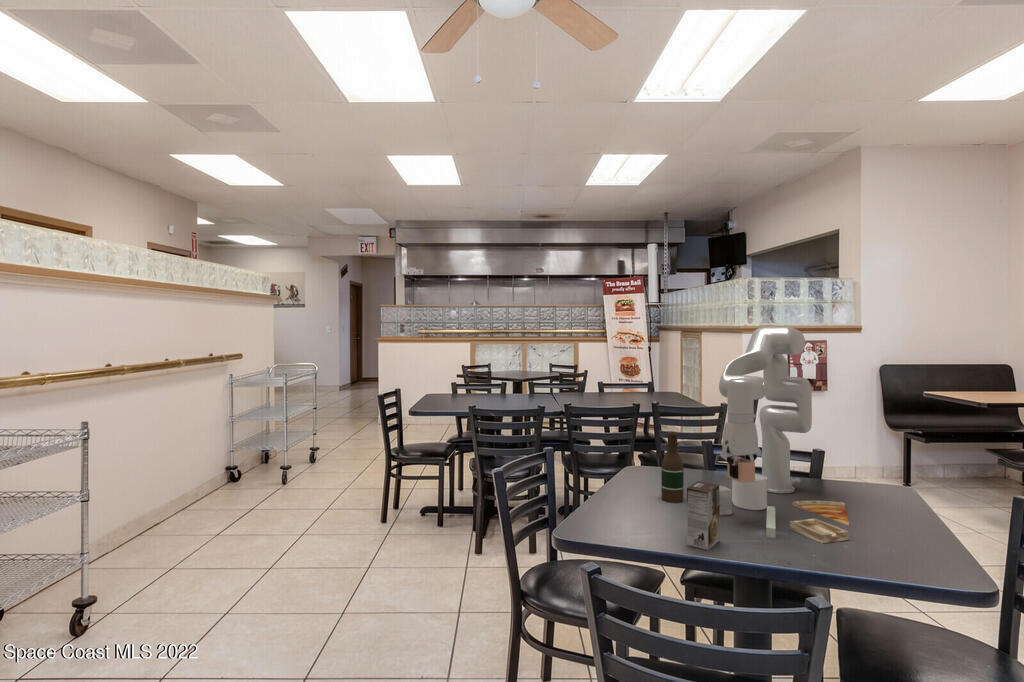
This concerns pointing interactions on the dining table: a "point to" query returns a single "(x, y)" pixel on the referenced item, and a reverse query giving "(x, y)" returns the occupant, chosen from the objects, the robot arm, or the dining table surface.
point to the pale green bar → (770, 522)
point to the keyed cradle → (819, 530)
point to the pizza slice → (825, 510)
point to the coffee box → (703, 515)
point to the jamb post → (725, 500)
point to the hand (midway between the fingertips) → (741, 476)
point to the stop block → (744, 470)
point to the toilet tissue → (750, 493)
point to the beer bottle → (672, 472)
